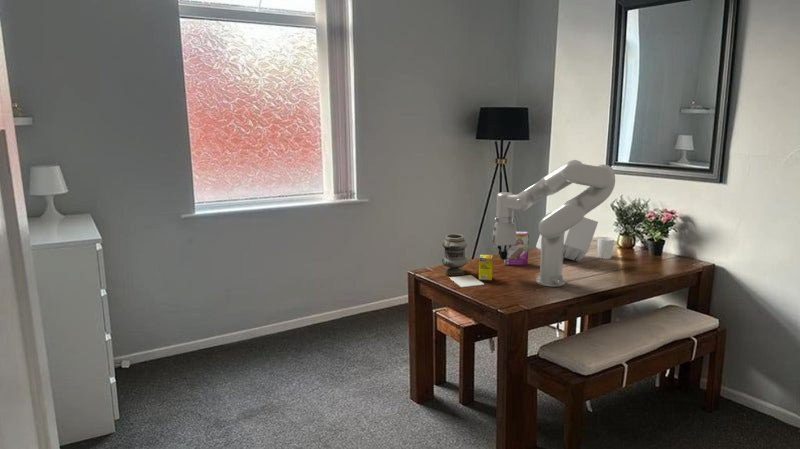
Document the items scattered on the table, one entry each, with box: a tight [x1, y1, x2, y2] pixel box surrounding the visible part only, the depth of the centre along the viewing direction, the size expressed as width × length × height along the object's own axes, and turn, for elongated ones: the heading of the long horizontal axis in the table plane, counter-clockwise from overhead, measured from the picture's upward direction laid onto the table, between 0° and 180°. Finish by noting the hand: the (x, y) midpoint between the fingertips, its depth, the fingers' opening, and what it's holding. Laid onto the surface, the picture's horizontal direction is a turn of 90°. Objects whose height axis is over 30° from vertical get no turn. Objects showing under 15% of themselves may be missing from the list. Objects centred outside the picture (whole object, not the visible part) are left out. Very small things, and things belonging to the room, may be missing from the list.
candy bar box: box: [504, 231, 530, 267], centre depth 267 cm, size 11×5×16 cm, turn 84°
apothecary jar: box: [441, 233, 468, 276], centre depth 255 cm, size 12×12×18 cm
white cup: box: [596, 236, 615, 260], centre depth 278 cm, size 8×8×10 cm
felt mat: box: [449, 274, 485, 288], centre depth 243 cm, size 14×11×1 cm
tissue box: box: [535, 216, 599, 263], centre depth 273 cm, size 20×16×25 cm
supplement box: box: [478, 254, 494, 282], centre depth 245 cm, size 6×6×11 cm
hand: (503, 259), depth 246 cm, fingers closed
